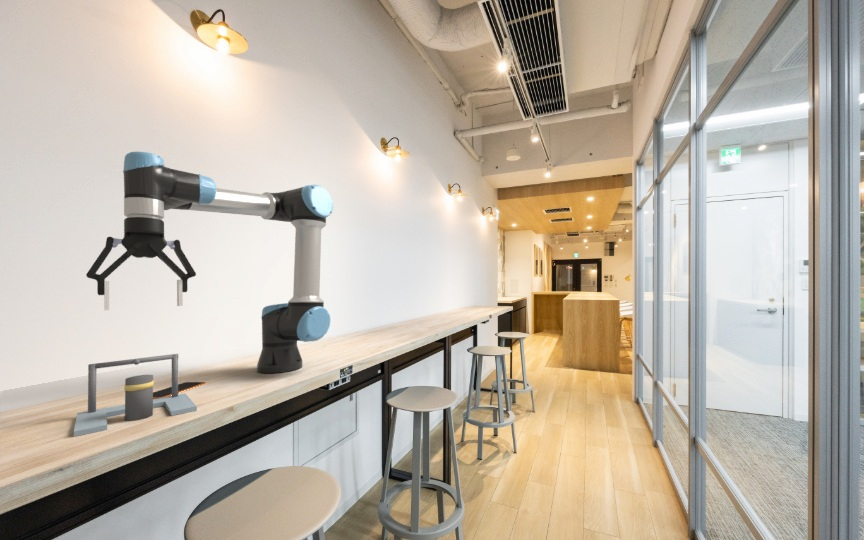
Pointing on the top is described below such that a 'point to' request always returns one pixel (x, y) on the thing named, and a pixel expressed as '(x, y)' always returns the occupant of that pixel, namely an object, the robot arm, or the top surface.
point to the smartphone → (181, 387)
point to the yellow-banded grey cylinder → (138, 397)
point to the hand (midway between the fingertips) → (145, 308)
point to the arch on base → (98, 418)
